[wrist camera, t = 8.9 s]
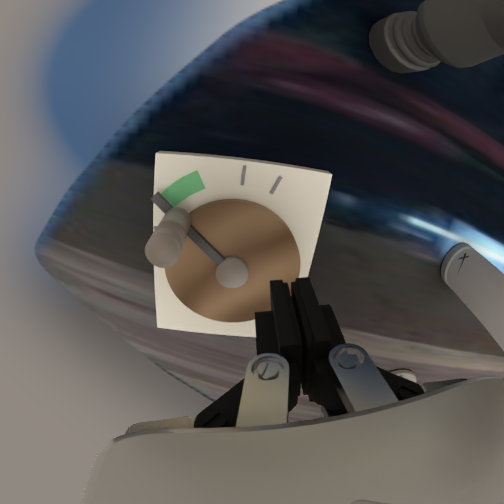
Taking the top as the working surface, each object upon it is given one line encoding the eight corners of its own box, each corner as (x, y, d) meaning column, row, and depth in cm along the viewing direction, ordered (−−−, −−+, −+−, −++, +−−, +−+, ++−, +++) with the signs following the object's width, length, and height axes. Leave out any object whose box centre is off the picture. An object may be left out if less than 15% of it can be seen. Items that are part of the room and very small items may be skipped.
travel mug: (443, 244, 31) (545, 346, 13) (475, 240, 31) (570, 327, 13) (433, 285, 34) (515, 391, 16) (465, 279, 34) (544, 370, 16)
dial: (322, 266, 29) (345, 316, 22) (228, 331, 33) (227, 386, 26) (211, 140, 23) (199, 152, 16) (117, 233, 27) (83, 276, 20)
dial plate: (288, 330, 36) (289, 340, 34) (159, 319, 34) (157, 328, 32) (327, 171, 27) (332, 174, 25) (160, 150, 25) (155, 153, 23)
